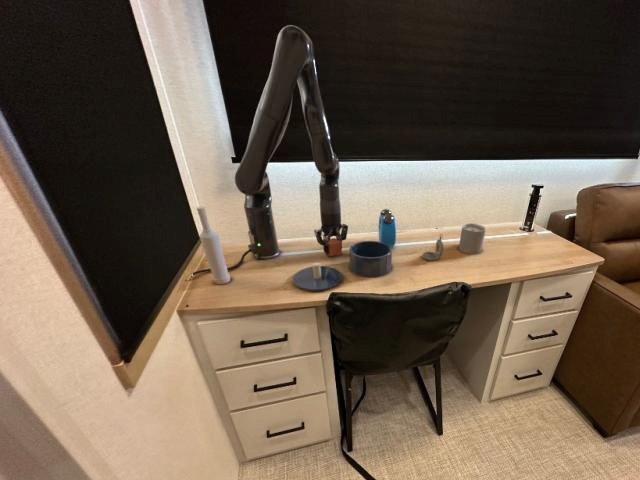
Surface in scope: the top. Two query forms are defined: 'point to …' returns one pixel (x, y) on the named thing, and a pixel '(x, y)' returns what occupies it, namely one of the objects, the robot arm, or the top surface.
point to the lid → (317, 277)
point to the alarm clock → (387, 228)
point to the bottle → (213, 250)
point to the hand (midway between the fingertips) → (333, 251)
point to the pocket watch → (439, 251)
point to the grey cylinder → (472, 238)
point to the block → (334, 247)
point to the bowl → (370, 258)
